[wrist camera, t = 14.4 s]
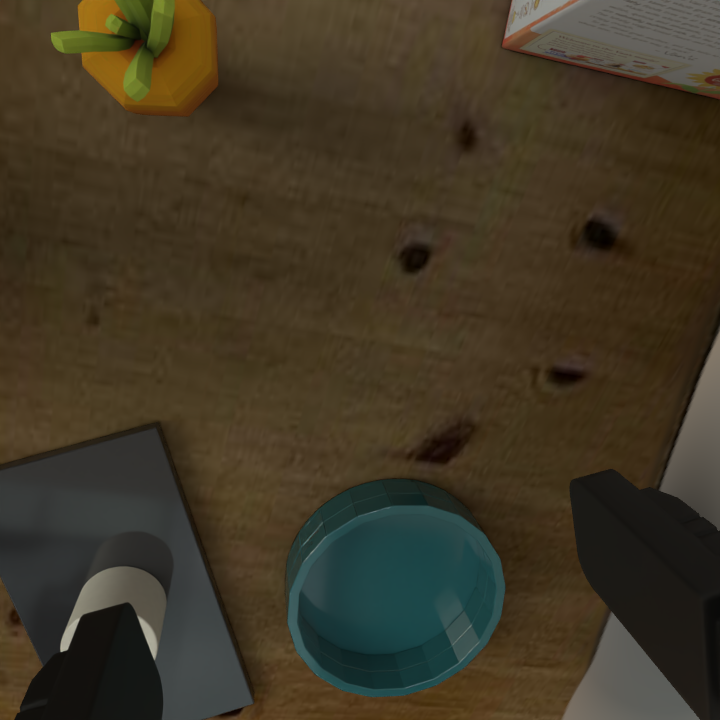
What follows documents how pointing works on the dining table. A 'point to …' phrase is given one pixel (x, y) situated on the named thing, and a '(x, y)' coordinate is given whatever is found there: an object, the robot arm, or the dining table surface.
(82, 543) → the glossy dark tile
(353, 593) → the bowl
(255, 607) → the dining table surface
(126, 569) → the sushi roll
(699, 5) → the cracker box
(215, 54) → the carrot
